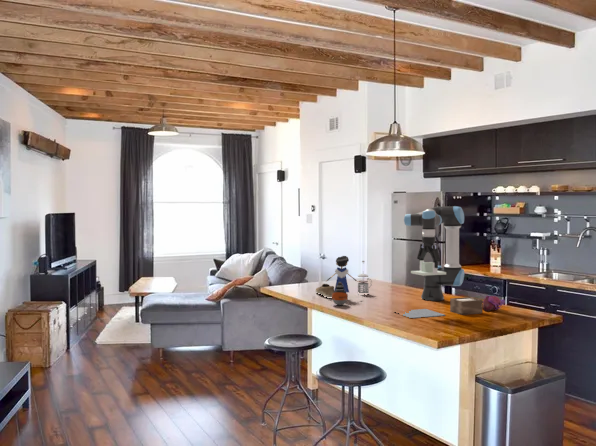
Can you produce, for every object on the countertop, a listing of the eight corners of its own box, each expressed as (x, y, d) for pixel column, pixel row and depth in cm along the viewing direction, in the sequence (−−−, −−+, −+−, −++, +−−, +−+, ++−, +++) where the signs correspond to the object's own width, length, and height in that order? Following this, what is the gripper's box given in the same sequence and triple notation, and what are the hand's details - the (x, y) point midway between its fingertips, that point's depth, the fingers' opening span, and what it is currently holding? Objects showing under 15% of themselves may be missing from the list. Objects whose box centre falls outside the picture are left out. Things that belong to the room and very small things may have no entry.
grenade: (347, 307, 329) (347, 283, 328) (331, 306, 331) (331, 283, 331) (348, 304, 340) (348, 281, 339) (333, 303, 342) (333, 281, 341)
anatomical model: (486, 311, 313) (509, 307, 314) (482, 296, 315) (505, 292, 316) (479, 312, 324) (501, 308, 325) (475, 298, 326) (497, 294, 327)
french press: (360, 292, 386) (360, 259, 385) (374, 294, 379) (374, 260, 379) (354, 294, 378) (354, 260, 377) (368, 296, 371) (368, 261, 370)
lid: (410, 273, 310) (410, 261, 310) (433, 272, 316) (433, 261, 316) (423, 275, 298) (423, 263, 298) (446, 274, 304) (446, 262, 304)
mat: (392, 312, 312) (392, 311, 312) (425, 309, 321) (425, 308, 321) (410, 318, 293) (410, 317, 293) (445, 315, 302) (445, 314, 302)
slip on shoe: (313, 292, 388) (313, 280, 388) (328, 292, 390) (328, 280, 390) (322, 299, 359) (322, 286, 359) (338, 298, 361) (338, 286, 361)
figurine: (357, 297, 364) (358, 255, 364) (358, 299, 355) (358, 256, 355) (325, 297, 367) (325, 255, 366) (325, 299, 358) (325, 256, 357)
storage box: (450, 311, 314) (450, 298, 314) (470, 309, 320) (470, 297, 319) (461, 314, 304) (461, 301, 304) (482, 313, 309) (482, 300, 309)
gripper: (411, 235, 317) (411, 270, 317) (436, 237, 294) (435, 274, 294) (421, 235, 319) (421, 269, 320) (446, 237, 297) (446, 274, 297)
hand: (428, 272), depth 307 cm, fingers closed on lid, 12 cm apart
